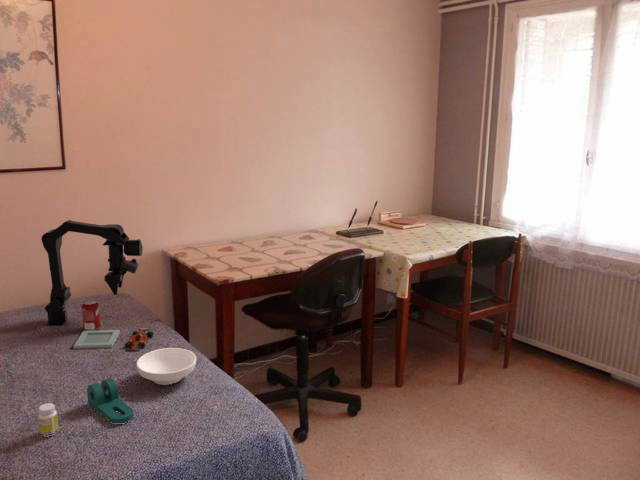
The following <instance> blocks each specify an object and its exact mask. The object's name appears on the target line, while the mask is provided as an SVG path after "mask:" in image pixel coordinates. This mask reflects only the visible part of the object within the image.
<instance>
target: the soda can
mask: <svg viewBox="0 0 640 480" xmlns="http://www.w3.org/2000/svg"><path fill="white" fill-rule="evenodd" d="M80 307H81V316H82V329H83V331H96V330H99V329H100V328H101V326H102V323H101V311H100V303H99V302H98V299H96V298H95V299H94V298H93V299H92V298H89V299H85V300H83V301H82V305H81V306H80Z"/></svg>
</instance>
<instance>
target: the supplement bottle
mask: <svg viewBox="0 0 640 480" xmlns="http://www.w3.org/2000/svg"><path fill="white" fill-rule="evenodd" d="M37 417H38V427H39V434H41V435H46V436H47V435H52V434H54V433H56V432H57V431H58V430H59V431H60V429H59V427H60V426H59V421H58V419H59V418H58V411H57V410H56V407H55V404H54V403H52V402H50V403H49V402H48V403H43V404H42V405H40V406H39V407H38V416H37ZM41 435H40V436H41Z"/></svg>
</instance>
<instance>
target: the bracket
mask: <svg viewBox="0 0 640 480" xmlns="http://www.w3.org/2000/svg"><path fill="white" fill-rule="evenodd" d="M86 394H87V404H89V406H90V405H91V406H92V407H93V408H95V409H96V410H97V411H98V412H99V413H101V414H102V415H103V416H104V417H106V418H107V419H108V420H109V421H110V422H112V423H125V422H128V421H129V420H131V419H132V418H133V419H134V409H133V408H132V407H130V406H129V405H128V404H127V403H125V402H124V401H123V400H121V399H120V397H119V396H120V395H119V388H118V385H117V382H116V381H115V379H114V378H113V377H109V378H105V379H103V380H102V381H101V384H100V383H98V382H95V383H91V384H89V385H87V388H86ZM91 406H90V407H91ZM92 407H91V408H92ZM93 408H92V409H93ZM96 410H95V411H96ZM97 411H96V412H97ZM116 411H118V412H120V413H121V414H122V415H120V414H119V413H117V412H116ZM98 412H97V413H98ZM99 413H98V414H99ZM103 416H102V417H103ZM104 417H103V418H104ZM109 421H108V422H109ZM110 422H109V423H110Z"/></svg>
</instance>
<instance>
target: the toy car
mask: <svg viewBox="0 0 640 480" xmlns="http://www.w3.org/2000/svg"><path fill="white" fill-rule="evenodd" d="M145 331H148V332H145ZM152 338H154V332H153V331H150V327H145V326H144V327H143V326H142V327H141V326H140V327H139V329H138V331H135V330H134V331H132V336H131V337H130V339H129V340H128V342H125V343H124V349H125V350H124V351H125V352H133V353H134V352H135V353H137V352H140V349H137V347H141V349H145V348H146V344H147V342H148V341H149V339H152ZM129 346H130V347H129Z"/></svg>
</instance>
